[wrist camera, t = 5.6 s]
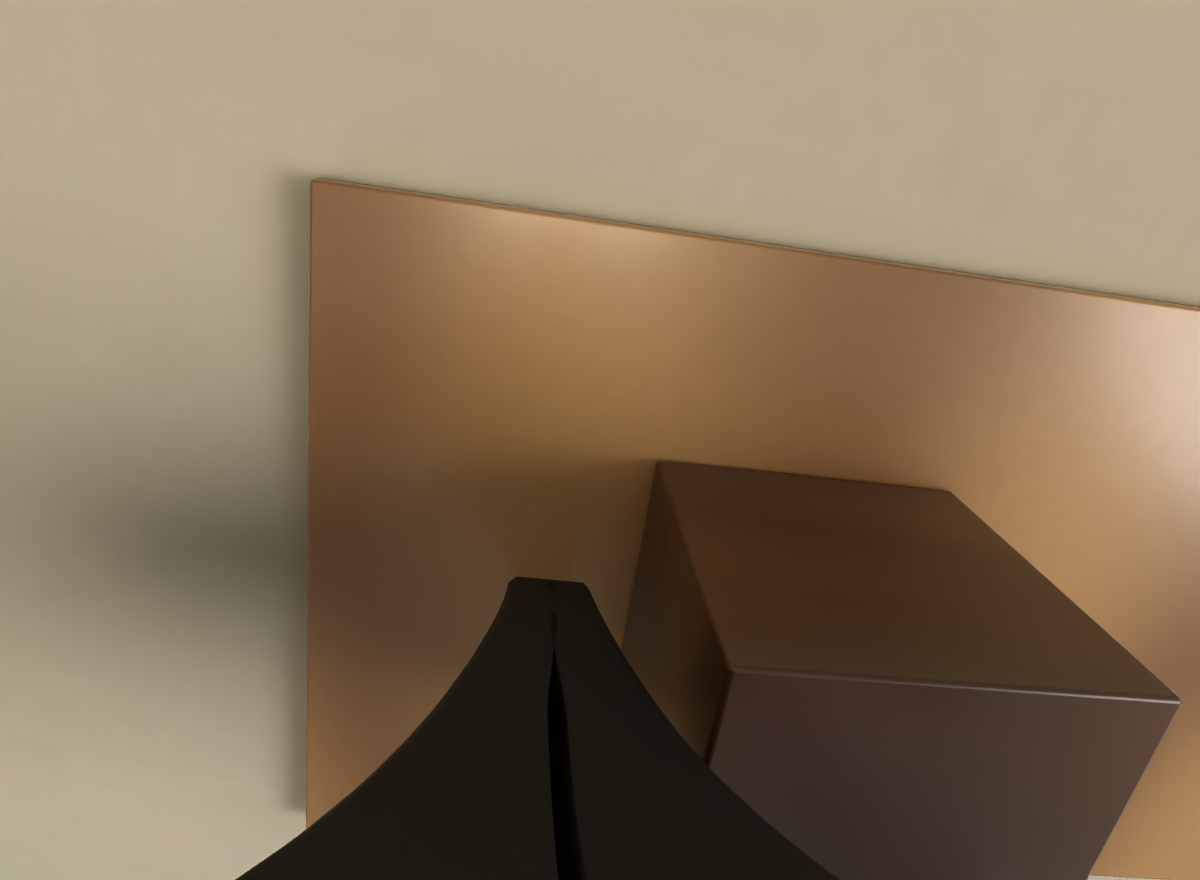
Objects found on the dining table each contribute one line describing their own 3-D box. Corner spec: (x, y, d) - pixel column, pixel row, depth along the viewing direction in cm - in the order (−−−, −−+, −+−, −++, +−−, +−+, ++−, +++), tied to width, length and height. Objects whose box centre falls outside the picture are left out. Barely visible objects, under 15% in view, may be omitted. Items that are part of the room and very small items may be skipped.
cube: (608, 709, 14) (645, 1000, 9) (656, 459, 12) (730, 667, 7) (869, 726, 15) (1022, 1005, 10) (951, 490, 13) (1186, 700, 8)
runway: (311, 813, 15) (305, 830, 15) (317, 177, 11) (309, 179, 10) (1673, 895, 19) (1696, 912, 18) (2105, 440, 14) (2146, 448, 14)
